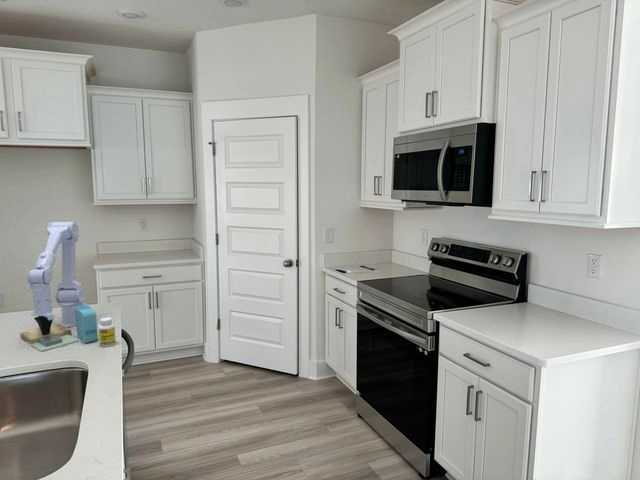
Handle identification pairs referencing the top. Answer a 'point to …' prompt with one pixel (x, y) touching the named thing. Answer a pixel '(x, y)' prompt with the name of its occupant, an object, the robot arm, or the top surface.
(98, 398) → the top surface
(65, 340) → the green mat
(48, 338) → the slate tile
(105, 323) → the supplement bottle
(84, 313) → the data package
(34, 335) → the oak board
